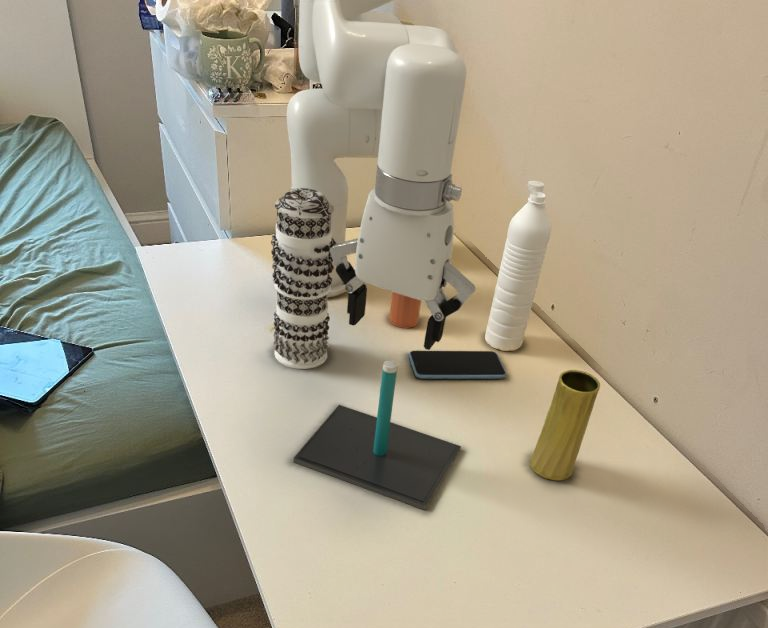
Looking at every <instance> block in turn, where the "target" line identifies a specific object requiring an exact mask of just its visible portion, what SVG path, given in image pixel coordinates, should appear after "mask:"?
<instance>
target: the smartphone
mask: <svg viewBox="0 0 768 628" xmlns="http://www.w3.org/2000/svg"><path fill="white" fill-rule="evenodd" d="M408 358H409V361H410V364H411V367H412V370H413V372H414V375H415V377H416V378H418V379H504V378H506V376H507V371H506V369H505V367H504V365H503V362H502V361H501V359H500V357H499V355H498V354H497V353H496V352H495V351H492V350H411V351H410V352H409V353H408Z"/></svg>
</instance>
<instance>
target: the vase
mask: <svg viewBox="0 0 768 628" xmlns="http://www.w3.org/2000/svg"><path fill="white" fill-rule="evenodd" d="M600 389H601V382H600V381H599V379H598V378H597V377H595V376H594V375H593V374H591V373H589V372H586V371H583V370H578V369H568V370H565V371H563V372H561V373H560V375H559V377H558V380H557V384H556V387H555V391H554V394H553V396H552V400H551V402H550V403H551V404H550V405H549V409H548V411H547V413H546V417H545V419H544V423H543V427H542V428H541V431H540V434H539V436H538V439H537V442H536V445H535V447H534V450H533V453H532V454H531V457H530V459H529V465H530V468H531V469H532V471H533V472H534V473H535V474H537V475H538V476H540V477H542V478H543V479H547V480H549V481H564V480H567V479H569V478H570V477H571V476H572V475H573V473H574V471H575V469H574V468H575V463H576V460H577V458H578V455H579V452H580V449H581V446H582V443H583V440H584V436H585V434H586V430H587V428H588V425H589V420H590V418H591V414H592V413H593V408H594V406H595V403H596V399H597V396H598V394H599V391H600Z"/></svg>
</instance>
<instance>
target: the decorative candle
mask: <svg viewBox="0 0 768 628" xmlns="http://www.w3.org/2000/svg"><path fill="white" fill-rule="evenodd" d="M291 189H292V188H291ZM291 189H288V190H287V191H286V192H284V193H283V194H282V196H281V197H280V198H278V199H277V200H276V201H275V202H274V208H275V210H276V223H275V233H273V234H272V235H271V241H270V244H271V246H272V249H271V251H270V252H271V255H272V257H271V259H272V265H271V266H272V269H273V273H272V278H273V280H272V281H273V287H274V289H275V290H276V295H277V296H276V297H277V298H276V302H275V311H274V313H273V320H274V322H273V326H274V327H273V329H274V331H273V347H274V357H275V359H276V360H277V362H279V363H280V364H282V365H284V366H286V367H288V368H293V369H295V370H296V369H300V370H301V369H302V370H303V369H304V370H308V369H312V368H318V367H319V366H321V365H322V364H324V363H325V362H326V360H327V359H328V350H327V349H329V345H328V340H329V339H330V336H328V334H329V332H328V331H329V329H330V326H329V321H330V320H331V319H330V316H329V315H330V314H329V303H328V297H327V294H328V293H329V291H330V290H331V282H332V278H331V277H330V275H329V273H331V272H332V271H333V269H334V266H333V265H332V263H331V262H333V259H332V257H331V254H330V248H331V247H333V246H334V245H335V244H336V242H335V241H334V239H333V238H332V229H331V226H330V225H331V213H332V212H333V211H334V206H333V205H332V204H331V203H330V202H329V201H328V200H327V198H326V197H325V196H324V195H323V194H322V193H321V192H318V191H316V190H312V189H307V188H297V189H292V190H291ZM329 244H330V245H329ZM276 252H278V255H277V254H276ZM328 257H329V258H328ZM273 260H274V261H273Z"/></svg>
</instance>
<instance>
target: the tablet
mask: <svg viewBox="0 0 768 628" xmlns="http://www.w3.org/2000/svg"><path fill="white" fill-rule="evenodd" d="M376 423H377V416H374V415H370V414H368V413H365V412H362V411H359V410H356V409H353V408H350V407H347V406H345V405H341V404H338V405H337V406H336V408H334V410H333V411H332V412H331V413H330V415H329V416H328V417H327V418H326V419H325V421H324V422H323V423H322V424H321V425H320V426H319V427H318V429H316V431H315V432H314V433H313V434H312V435H311V437H310V438H308V440H307V441H306V443H305V444H304V445H303V446H302V447H301V448H300V449H299V451H298V452H297V453H296V454H295V456H294V457H293V460H292V462H293V463H294V464H298V465H299V466H303V467H306V468H308V469H312V470H314V471H316V472H319V473H322V474H325V475H327V476H330V477H333V478H336V479H339V480H341V481H345V482H347V483H350V484H353V485H355V486H358V487H361V488H364V489H366V490H369V491H371V492H374V493H378V494H380V495H383V496H386V497H388V498H390V499H392V500H396V501H398V502H402V503H404V504H407V505H410V506H412V507H416V508H419V509H420V510H424V511H426V510H427V508H428V507H429V504H430V503H431V501H432V500H433V498H434V496H435V494H436V492H437V491H438V489H439V488H440V485H441V484H442V482H443V481H444V479H445V477H446V475H447V473H448V472H449V470H450V469H451V467H452V465H453V463H454V462H455V460H456V458H457V457H458V455H459V453H460V452H461V449H462V445H459V444H456V443H453V442H450V441H447V440H445V439H441V438H438V437H435V436H433V435H429V434H427V433H424V432H422V431H421V432H420V431H417V430H414V429H411V428H409V427H406V426H403V425H400V424H397V423H394V422H391V421H390V429H389V436H388V444H387V452H386V454H385V455H383V456H378V455H376V454H374V452H373V449H374V440H375V431H376Z"/></svg>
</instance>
